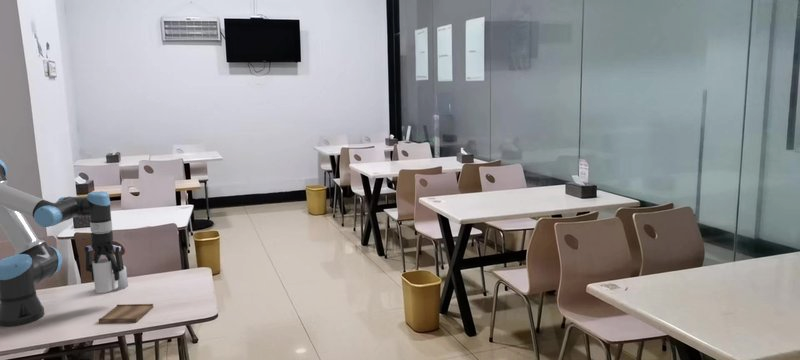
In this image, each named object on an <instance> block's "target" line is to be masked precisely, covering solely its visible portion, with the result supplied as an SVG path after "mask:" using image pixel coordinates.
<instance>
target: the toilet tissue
mask: <svg viewBox="0 0 800 360" xmlns="http://www.w3.org/2000/svg"><path fill="white" fill-rule="evenodd" d="M123 266H124V269H123V270H122V271H120V272H119V277H120V278H119V280H118V287H117V288H116V289H113V290H112V291H109V292H108V293H111V292H117V291H121V290H125V289H126V288H128V287H129V284H128V282H129V281H128V273H127V267H126V265H123ZM112 273H113V270H112Z"/></svg>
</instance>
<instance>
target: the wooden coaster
mask: <svg viewBox="0 0 800 360" xmlns="http://www.w3.org/2000/svg"><path fill="white" fill-rule="evenodd" d="M152 309H154V303H134V304H133V303H131V304H130V303H129V304H127V303H126V304H117V305H116V306H115V307H113V308H112V309H110V311H108V312H107V313H106V314H104V315H103V316H102V317H101V318H98V324H114V323H116V324H119V323H121V324H123V323H125V324H126V323H128V324H129V323H138V322H139V321H140V320H141V319H142V318H143V317H144V316H146V315H147V314H148V313H149V312H150V311H151V310H152Z"/></svg>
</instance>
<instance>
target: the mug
mask: <svg viewBox="0 0 800 360" xmlns="http://www.w3.org/2000/svg"><path fill="white" fill-rule="evenodd" d="M93 260H94V259H93ZM93 260H92V264H93V274H94V280H93V281H94V282H95V284H94V290H95V293H98V294H103V293H110V292H109V291H112V290H113V283H112V267H111V261H108V258H106V257H105V258H100V259H99V260H98V262H97V263H95V260H94V261H93ZM94 282H93V283H94ZM112 292H113V291H112Z"/></svg>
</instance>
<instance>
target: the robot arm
mask: <svg viewBox="0 0 800 360" xmlns="http://www.w3.org/2000/svg"><path fill="white" fill-rule="evenodd" d="M7 176H8V168H7V165H6V163H5V162H4V161H3V160H2V159H1V158H0V227H1V229H2V230H3V232H4V234H5V236H6V237H7V239H8V241H9V242H10V244H11V245H12V247H13V248H14V251H15V252H14V255H11V256H7V257H5V258H2V259H0V326H2V327H14V326H20V325H26V324H28V323H31V322H35V321H37V320H39V319H40V318H42V317H43V316H44V315H46V314H45V307H44V306H43V304H42V303H41V301H40V298H39V297H38V295H37V291H36V290H37V288H36V284H38V283H40V282H42V281H44V280H47V279H49V278H51V277H53V276H54V275H56V274H57V273H58V272H59V271H60V269H61V268H62V264H63V257H62V254H61V252H60V251H59V249H57V248H56V247H54V246H50V245H48V244H47V242H46V241H45V240H43V239H39V237H38V236H37V234H36V233H35V232H34V229H33V227H32V226H31V225H30V223H29V221H28V220H27V218H26V217H25V216H27V217H30V218H32V219H34V221H35V223H37V225H38V226H39V227H42V228H50V227H53V226H56V225H58V224H61V223H63V222H65V221H68V220H71V219H73V218H77V217H80V218H81V217H84V218H88V217H89V218H88V219H89V226H90V232H91V233H90V237H91V245H87V246H84V251H85V271H86V272H90V273H91V280H92V281H94V274H93V264H92V262H93V261H94V260H95V263H97V262H98V260H99V259H101V256H105V258H108V261H111V267H112V270H113V273H112V283H113V289H116V288H117V287H118V280H119V278H120V277H119V272H120V271H122V270H123V269H124V266H125V265H124V262H123V260H124V259H123V254H122V248H123V247H122V245H115V243H114V234H113V231H112V230H113V223H112V214H111V213H112V212H111V198H110V194H109V192H108V191H102V190H101V191H92V192H89V193H88V194H87V197H84V196H82V197H81V196H63V197H60V198H58V200H57V201H56V202H51V201H49V200H46V199H44V198H41V197H38V196H35V195H33V194H31V193H27V192H25V191H22V190H19V189H16V188H15V187H12V186H9V185H8V179H7ZM93 251H94V254H93ZM93 283H94V285H95V282H93Z"/></svg>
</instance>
